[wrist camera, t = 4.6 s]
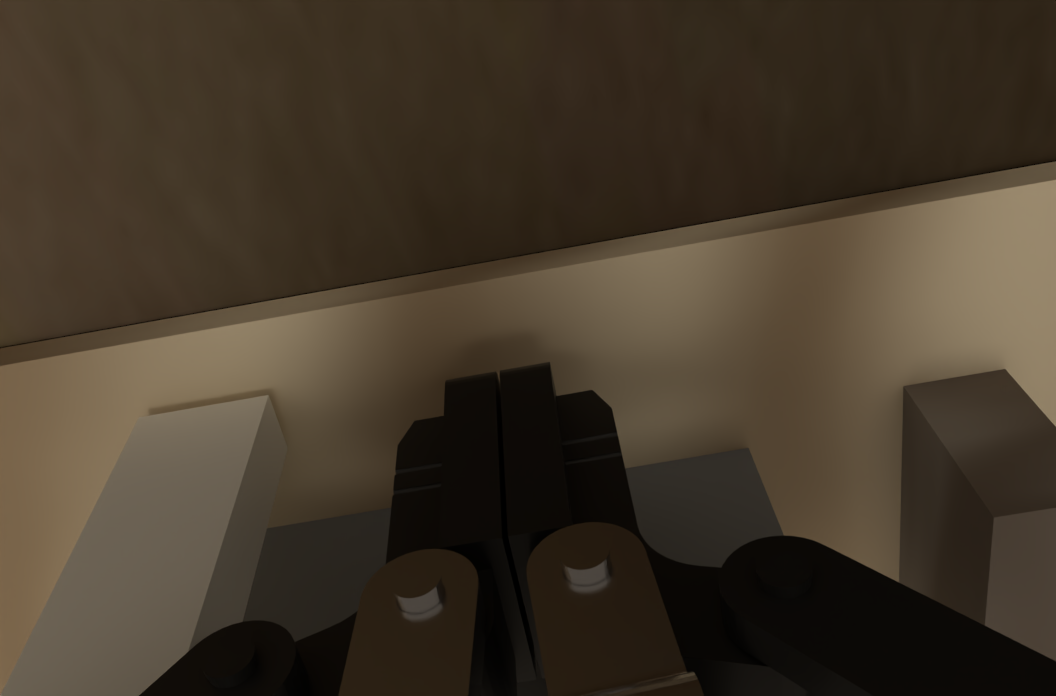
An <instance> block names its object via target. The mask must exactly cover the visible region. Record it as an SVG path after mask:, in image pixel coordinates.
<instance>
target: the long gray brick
mask: <svg viewBox="0 0 1056 696" xmlns="http://www.w3.org/2000/svg"><path fill="white" fill-rule="evenodd" d="M625 470H626V475H627V479H628V484H629V488H630V493H631V497H632V502H633V506H634V511H635V516H636V520H637V525H638V528H639V531H640V534H641V535H642V537H643V539H644V540H645V541H646V543H647V544H648V545H649V546H650V547H651V548H653V549H654V550H655V551H656V552H658V553H660V554H661V555H663V556H665V557H667V558H669V559H672V560H674V561H677V562H681V563H685V564H690V565H697V566H708V567H720V568H722V565H723V563H724V562H725V560H726V559H727V558H728V557H729V556H730V555H731V554H732V552H734V551H735V550H736V549H738V548H739V547H741V546H742V545H744V544H746V543H748V542H751V541H754V540H756V539H759V538H764V537H769V536H780V535H783V536H784V534H783V532H782V529H781V527H780V524H779V522H778V519H777V517H776V515H775V512H774V510H773V507H772V505H771V502H770V500H769V497H768V495H767V492H766V490H765V487H764V485H763V482H762V480H761V477H760V475H759V472H758V470H757V467H756V465H755V462H754V460H753V458H752V455H751V453H750V450H749V448H744V449H738V450H732V451H726V452H720V453H714V454H708V455H702V456H696V457H690V458H684V459H679V460H673V461H667V462H661V463H655V464H649V465H643V466H637V467H631V468H625ZM390 515H391V508H386V509H380V510H374V511H368V512H362V513H356V514H350V515H344V516H338V517H332V518H326V519H320V520H314V521H308V522H302V523H296V524H290V525H284V526H278V527H272V528H267V530H266V534H265V538H264V542H263V545H262V549H261V553H260V557H259V561H258V565H257V568H256V572H255V576H254V580H253V584H252V587H251V591H250V595H249V599H248V603H247V607H246V610H245V614H244V618H243V622H244V621H252V620H264V621H270V622H273V623H276V624H279V625H281V626H282V627H284V628H285V629H287V631H288V632H289V633H290V634H291V635H292V637H293V639H294V641H295V642H296V641H298V640H300V639H303V638H305V637H308V636H310V635H312V634H315V633H317V632H319V631H322V630H324V629H327V628H329V627H331V626H333V625H335V624H337V623H339V622H341V621H343V620H345V619H346V618H348V617H350V616H351V615H353V614H354V613H355V612H357V611H358V607H359V602H360V598H361V595H362V592H363V589H364V587H365V586H366V584H367V582H368V581H369V580H370V578H371V577H372V576H373V575H374V574H375V573H376V572H377V571H378V570H379V569H380V568H381V567H383V566H384V565H385V564H386V554H387V544H388V535H389V525H390ZM534 650H535V648H534ZM535 664H536V677H537V680H532V681H526V682H520V683H517V696H548V691H547V686H546V680H545V678H542V677H541V673H540V668H539V664H538V660H537V656H536V652H535Z"/></svg>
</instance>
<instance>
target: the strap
mask: <svg viewBox="0 0 1056 696" xmlns="http://www.w3.org/2000/svg"><path fill="white" fill-rule="evenodd" d="M287 450H288V447H287V444H286V442H285V439H284V436H283V433H282V431H281V428H280V425H279V422H278V420H277V417H276V414H275V411H274V408H273V406H272V403H271V400H270V397H269V395H265V396H260V397H254V398H248V399H242V400H236V401H231V402H225V403H219V404H213V405H208V406H202V407H196V408H190V409H184V410H179V411H173V412H167V413H161V414H156V415H150V416H144V417H139V418H138V420H137V422H136V424H135V426H134V428H133V430H132V432H131V434H130V436H129V438H128V440H127V442H126V444H125V446H124V448H123V450H122V452H121V454H120V456H119V458H118V460H117V462H116V464H115V466H114V468H113V470H112V472H111V474H110V476H109V478H108V480H107V482H106V485H105V487H104V489H103V491H102V493H101V495H100V497H99V499H98V501H97V503H96V505H95V507H94V509H93V511H92V513H91V515H90V517H89V519H88V521H87V523H86V525H85V527H84V529H83V531H82V533H81V535H80V537H79V539H78V541H77V543H76V545H75V547H74V549H73V551H72V553H71V555H70V557H69V559H68V561H67V563H66V565H65V567H64V569H63V571H62V573H61V575H60V577H59V579H58V581H57V583H56V585H55V587H54V589H53V591H52V593H51V595H50V597H49V599H48V601H47V603H46V605H45V607H44V609H43V611H42V613H41V615H40V617H39V619H38V621H37V623H36V625H35V627H34V629H33V631H32V633H31V635H30V637H29V639H28V641H27V643H26V645H25V647H24V649H23V651H22V653H21V655H20V657H19V659H18V661H17V663H16V665H15V667H14V669H13V671H12V673H11V675H10V677H9V679H8V681H7V683H6V685H5V687H4V689H3V691H2V693H1V695H0V696H139V695H140V694H141V693H142V692H143V691H145V690H146V689H147V688H148V687H149V686H150V685H151V684H152V683H154V682H155V681H156V680H157V679H158V678H159V677H160V676H161V675H163V674H164V673H165V672H166V671H167V670H168V669H169V668H170V667H171V666H173V665H174V664H175V663H176V662H177V661H178V660H179V659H180V658H182V657H183V656H184V655H185V654H186V653H187V652H188V651H189V650H191V649H192V648H193V647H194V646H195V645H196V644H198V643H199V642H200V641H201V640H203V639H204V638H206V637H207V636H209V635H210V634H212V633H214V632H216V631H218V630H220V629H222V628H224V627H227V626H230V625H232V624H236V623H240V622H243V618H244V614H245V610H246V607H247V603H248V599H249V595H250V591H251V587H252V584H253V580H254V576H255V572H256V568H257V565H258V561H259V557H260V553H261V549H262V545H263V542H264V538H265V534H266V530H267V526H268V522H269V519H270V515H271V511H272V507H273V503H274V500H275V496H276V492H277V488H278V484H279V480H280V477H281V473H282V469H283V465H284V461H285V457H286V454H287Z"/></svg>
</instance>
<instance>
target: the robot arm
mask: <svg viewBox="0 0 1056 696" xmlns="http://www.w3.org/2000/svg"><path fill="white" fill-rule="evenodd" d="M395 472H396V475H395V476H394V486H393V492H394V495H393V496H392V505H391V515H390V525H389V535H388V544H387V554H386V564H385V565H384V566H383V567H381V568H380V569H379V570H378V571H377V572H376V573H375V574H374V575H373V576H372V577H371V578H370V580H369V581H368V582H367V584H366V586H365V587H364V589H363V592H362V595H361V598H360V602H359V607H358V611H357V612H355V613H354V614H353V615H351V616H350V617H348V618H346V619H345V620H343V621H341V622H339V623H337V624H335V625H333V626H331V627H329V628H327V629H324V630H322V631H319V632H317V633H315V634H312V635H310V636H308V637H305V638H303V639H300V640H298V641H296V642H295V641H294V639H293V637H292V635H291V634H290V633H289V632H288V631H287V629H285V628H284V627H282V626H281V625H279V624H276V623H273V622H270V621H264V620H252V621H244V622H240V623H236V624H232V625H230V626H227V627H224V628H222V629H220V630H218V631H216V632H214V633H212V634H210V635H209V636H207V637H206V638H204V639H203V640H201V641H200V642H199V643H198V644H196V645H195V646H194V647H193V648H192V649H191V650H189V651H188V652H187V653H186V654H185V655H184V656H183V657H182V658H180V659H179V660H178V661H177V662H176V663H175V664H174V665H173V666H171V667H170V668H169V669H168V670H167V671H166V672H165V673H164V674H163V675H161V676H160V677H159V678H158V679H157V680H156V681H155V682H154V683H152V684H151V685H150V686H149V687H148V688H147V689H146V690H145V691H143V692H142V693H141V694H140V695H139V696H517V683H520V682H526V681H532V680H537V677H536V664H535V652H536V656H537V660H538V664H539V668H540V673H541V677H542V678H545V680H546V686H547V691H548V696H1056V661H1054V660H1052V659H1050V658H1048V657H1047V656H1045V655H1043V654H1041V653H1039V652H1037V651H1035V650H1033V649H1031V648H1029V647H1027V646H1025V645H1023V644H1021V643H1019V642H1017V641H1015V640H1013V639H1011V638H1009V637H1007V636H1005V635H1003V634H1001V633H999V632H997V631H995V630H993V629H991V628H989V627H987V626H985V625H983V624H981V623H979V622H977V621H975V620H973V619H971V618H969V617H967V616H965V615H963V614H961V613H959V612H957V611H955V610H953V609H951V608H949V607H947V606H945V605H943V604H941V603H939V602H937V601H935V600H933V599H931V598H929V597H927V596H925V595H923V594H921V593H919V592H917V591H915V590H913V589H911V588H909V587H907V586H905V585H903V584H901V583H899V582H897V581H895V580H893V579H891V578H889V577H887V576H885V575H883V574H881V573H879V572H877V571H875V570H873V569H871V568H869V567H867V566H865V565H863V564H861V563H859V562H857V561H855V560H853V559H851V558H849V557H847V556H845V555H843V554H841V553H839V552H837V551H835V550H833V549H831V548H829V547H827V546H825V545H823V544H821V543H819V542H816V541H814V540H810V539H807V538H803V537H797V536H783V535H780V536H769V537H764V538H759V539H756V540H754V541H751V542H748V543H746V544H744V545H742V546H741V547H739V548H738V549H736V550H735V551H734V552H732V554H731V555H730V556H729V557H728V558H727V559H726V560H725V562H724V563H723V565H722V568H720V567H708V566H697V565H690V564H685V563H681V562H677V561H674V560H672V559H669V558H667V557H665V556H663V555H661V554H660V553H658V552H656V551H655V550H654V549H653V548H651V547H650V546H649V545H648V544H647V543H646V541H645V540H644V539H643V537H642V535H641V534H640V531H639V528H638V525H637V520H636V516H635V511H634V506H633V502H632V497H631V493H630V488H629V484H628V479H627V475H626V470H625V466H624V461H623V456H622V452H621V447H620V443H619V438H618V434H617V429H616V425H615V420H614V416H613V411H612V408H611V407H610V406H609V405H608V404H607V403H606V402H605V401H604V400H603V399H602V398H601V397H600V396H599V395H597V394H596V393H595V392H594V391H593V390H588V391H582V392H577V393H571V394H565V395H559V396H557V395H556V390H555V384H554V379H553V374H552V369H551V364H550V362H545V363H539V364H534V365H528V366H522V367H516V368H511V369H505V370H500V382H499V378H498V375H497V372H496V371H495V372H489V373H483V374H477V375H472V376H466V377H460V378H454V379H449V380H446V381H445V394H444V416H439V417H433V418H427V419H422V420H416V421H414V422H413V424H412V425H411V426H410V428H409V429H408V431H407V432H406V434H405V435H404V437H403V438H402V440H401V441H400V442H399V444H398V447H397V456H396V466H395ZM534 648H535V650H534Z"/></svg>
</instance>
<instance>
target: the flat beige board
mask: <svg viewBox="0 0 1056 696" xmlns="http://www.w3.org/2000/svg"><path fill="white" fill-rule="evenodd" d="M545 362H550V364H551V369H552V374H553V379H554V384H555V390H556V395H557V396H559V395H565V394H571V393H577V392H582V391H588V390H593V391H594V392H595V393H596V394H597V395H599V396H600V397H601V398H602V399H603V400H604V401H605V402H606V403H607V404H608V405H609V406H610V407H611V408H612V411H613V416H614V420H615V425H616V429H617V434H618V438H619V443H620V447H621V452H622V456H623V461H624V466H625V468H631V467H637V466H643V465H649V464H655V463H661V462H667V461H673V460H679V459H684V458H690V457H696V456H702V455H708V454H714V453H720V452H726V451H732V450H738V449H744V448H749V450H750V453H751V455H752V458H753V460H754V462H755V465H756V467H757V470H758V472H759V475H760V477H761V480H762V482H763V485H764V487H765V490H766V492H767V495H768V497H769V500H770V502H771V505H772V507H773V510H774V512H775V515H776V517H777V519H778V522H779V524H780V527H781V529H782V532H783V534H784V536H797V537H803V538H807V539H810V540H814V541H816V542H819V543H821V544H823V545H825V546H827V547H829V548H831V549H833V550H835V551H837V552H839V553H841V554H843V555H845V556H847V557H849V558H851V559H853V560H855V561H857V562H859V563H861V564H863V565H865V566H867V567H869V568H871V569H873V570H875V571H877V572H879V573H881V574H883V575H885V576H887V577H889V578H891V579H893V580H895V581H897V582H899V583H901V584H903V585H905V586H907V587H909V588H911V589H913V590H915V591H917V592H919V593H921V594H923V595H925V596H927V597H929V598H931V599H933V600H935V601H937V602H939V603H941V604H943V605H945V606H947V607H949V608H951V609H953V610H955V611H957V612H959V613H961V614H963V615H965V616H967V617H969V618H971V619H973V620H975V621H977V622H979V623H981V624H983V625H985V626H987V627H989V628H991V629H993V630H995V631H997V632H999V633H1001V634H1003V635H1005V636H1007V637H1009V638H1011V639H1013V640H1015V641H1017V642H1019V643H1021V644H1023V645H1025V646H1027V647H1029V648H1031V649H1033V650H1035V651H1037V652H1039V653H1041V654H1043V655H1045V656H1047V657H1048V658H1050V659H1052V660H1054V661H1056V161H1055V162H1049V163H1044V164H1038V165H1032V166H1027V167H1021V168H1015V169H1010V170H1004V171H999V172H993V173H987V174H982V175H976V176H970V177H965V178H959V179H953V180H948V181H942V182H936V183H931V184H925V185H920V186H914V187H908V188H903V189H897V190H891V191H886V192H880V193H874V194H869V195H863V196H857V197H852V198H846V199H841V200H835V201H829V202H824V203H818V204H812V205H807V206H801V207H795V208H790V209H784V210H778V211H773V212H767V213H761V214H756V215H750V216H745V217H739V218H733V219H728V220H722V221H716V222H711V223H705V224H699V225H694V226H688V227H682V228H677V229H671V230H666V231H660V232H654V233H649V234H643V235H637V236H632V237H626V238H620V239H615V240H609V241H603V242H598V243H592V244H587V245H581V246H575V247H570V248H564V249H558V250H553V251H547V252H541V253H536V254H530V255H524V256H519V257H513V258H507V259H502V260H496V261H491V262H485V263H479V264H474V265H468V266H462V267H457V268H451V269H445V270H440V271H434V272H428V273H423V274H417V275H412V276H406V277H400V278H395V279H389V280H383V281H378V282H372V283H366V284H361V285H355V286H349V287H344V288H338V289H333V290H327V291H321V292H316V293H310V294H304V295H299V296H293V297H287V298H282V299H276V300H270V301H265V302H259V303H254V304H248V305H242V306H237V307H231V308H225V309H220V310H214V311H208V312H203V313H197V314H191V315H186V316H180V317H174V318H169V319H163V320H158V321H152V322H146V323H141V324H135V325H129V326H124V327H118V328H112V329H107V330H101V331H95V332H90V333H84V334H79V335H73V336H67V337H62V338H56V339H50V340H45V341H39V342H33V343H28V344H22V345H16V346H11V347H5V348H0V695H1V693H2V691H3V689H4V687H5V685H6V683H7V681H8V679H9V677H10V675H11V673H12V671H13V669H14V667H15V665H16V663H17V661H18V659H19V657H20V655H21V653H22V651H23V649H24V647H25V645H26V643H27V641H28V639H29V637H30V635H31V633H32V631H33V629H34V627H35V625H36V623H37V621H38V619H39V617H40V615H41V613H42V611H43V609H44V607H45V605H46V603H47V601H48V599H49V597H50V595H51V593H52V591H53V589H54V587H55V585H56V583H57V581H58V579H59V577H60V575H61V573H62V571H63V569H64V567H65V565H66V563H67V561H68V559H69V557H70V555H71V553H72V551H73V549H74V547H75V545H76V543H77V541H78V539H79V537H80V535H81V533H82V531H83V529H84V527H85V525H86V523H87V521H88V519H89V517H90V515H91V513H92V511H93V509H94V507H95V505H96V503H97V501H98V499H99V497H100V495H101V493H102V491H103V489H104V487H105V485H106V482H107V480H108V478H109V476H110V474H111V472H112V470H113V468H114V466H115V464H116V462H117V460H118V458H119V456H120V454H121V452H122V450H123V448H124V446H125V444H126V442H127V440H128V438H129V436H130V434H131V432H132V430H133V428H134V426H135V424H136V422H137V420H138V418H139V417H144V416H150V415H156V414H161V413H167V412H173V411H179V410H184V409H190V408H196V407H202V406H208V405H213V404H219V403H225V402H231V401H236V400H242V399H248V398H254V397H260V396H265V395H269V397H270V400H271V403H272V406H273V408H274V411H275V414H276V417H277V420H278V422H279V425H280V428H281V431H282V433H283V436H284V439H285V442H286V444H287V447H288V450H287V454H286V457H285V461H284V465H283V469H282V473H281V477H280V480H279V484H278V488H277V492H276V496H275V500H274V503H273V507H272V511H271V515H270V519H269V522H268V526H267V528H272V527H278V526H284V525H290V524H296V523H302V522H308V521H314V520H320V519H326V518H332V517H338V516H344V515H350V514H356V513H362V512H368V511H374V510H380V509H386V508H391V505H392V496H393V495H394V492H393V486H394V476H395V475H396V472H395V466H396V456H397V447H398V444H399V442H400V441H401V440H402V438H403V437H404V435H405V434H406V432H407V431H408V429H409V428H410V426H411V425H412V424H413V422H414V421H416V420H422V419H427V418H433V417H439V416H444V394H445V381H446V380H449V379H454V378H460V377H466V376H472V375H477V374H483V373H489V372H495V371H496V372H497V375H498V378H499V382H500V370H505V369H511V368H516V367H522V366H528V365H534V364H539V363H545Z"/></svg>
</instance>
